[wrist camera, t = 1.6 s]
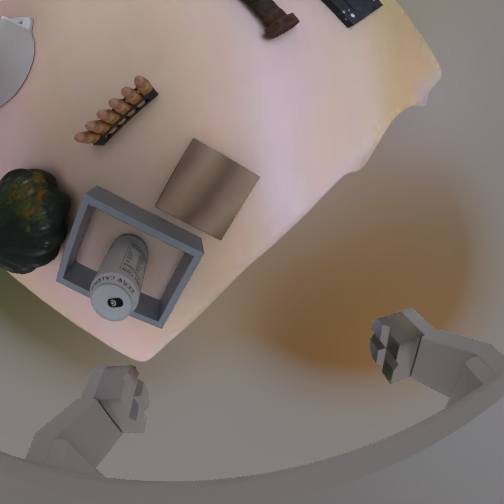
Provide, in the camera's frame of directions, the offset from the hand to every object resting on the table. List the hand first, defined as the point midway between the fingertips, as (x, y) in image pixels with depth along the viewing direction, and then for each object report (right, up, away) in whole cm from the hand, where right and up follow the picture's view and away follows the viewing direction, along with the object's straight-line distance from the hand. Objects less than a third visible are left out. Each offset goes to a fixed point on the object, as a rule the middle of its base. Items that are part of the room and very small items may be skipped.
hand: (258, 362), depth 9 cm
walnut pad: (-7, +13, +32) cm, 35 cm away
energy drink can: (-19, +4, +33) cm, 38 cm away
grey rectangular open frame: (-19, +4, +33) cm, 38 cm away
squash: (-34, +10, +27) cm, 44 cm away
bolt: (0, +42, +22) cm, 47 cm away
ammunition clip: (-18, +23, +25) cm, 38 cm away
